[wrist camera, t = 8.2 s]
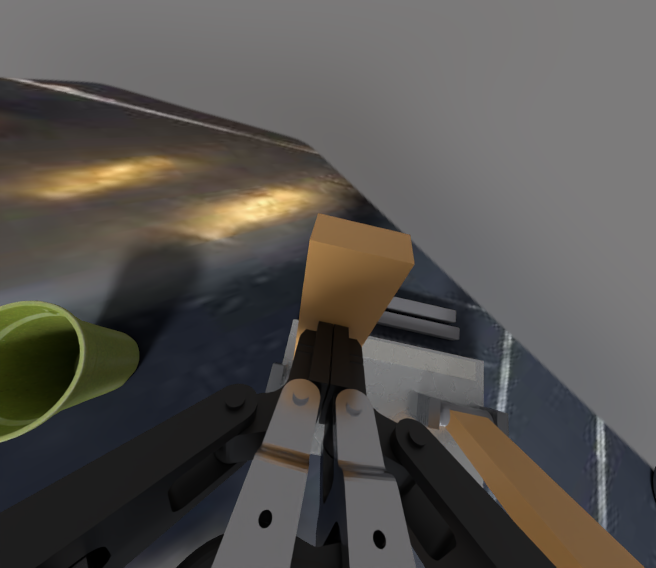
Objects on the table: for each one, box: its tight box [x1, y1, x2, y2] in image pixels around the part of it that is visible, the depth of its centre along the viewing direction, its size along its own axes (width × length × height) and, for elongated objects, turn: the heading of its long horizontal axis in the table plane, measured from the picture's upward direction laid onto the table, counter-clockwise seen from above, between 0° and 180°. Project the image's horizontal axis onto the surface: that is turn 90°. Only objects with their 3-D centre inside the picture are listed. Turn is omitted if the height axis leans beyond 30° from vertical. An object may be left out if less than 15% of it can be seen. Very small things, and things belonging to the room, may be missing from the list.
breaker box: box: [265, 320, 509, 488], centre depth 23 cm, size 11×21×6 cm, turn 78°
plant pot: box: [0, 301, 139, 442], centre depth 20 cm, size 9×9×9 cm
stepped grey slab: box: [377, 297, 460, 340], centre depth 28 cm, size 3×18×1 cm, turn 78°
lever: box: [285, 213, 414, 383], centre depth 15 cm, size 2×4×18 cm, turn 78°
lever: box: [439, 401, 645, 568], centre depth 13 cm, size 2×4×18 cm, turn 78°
